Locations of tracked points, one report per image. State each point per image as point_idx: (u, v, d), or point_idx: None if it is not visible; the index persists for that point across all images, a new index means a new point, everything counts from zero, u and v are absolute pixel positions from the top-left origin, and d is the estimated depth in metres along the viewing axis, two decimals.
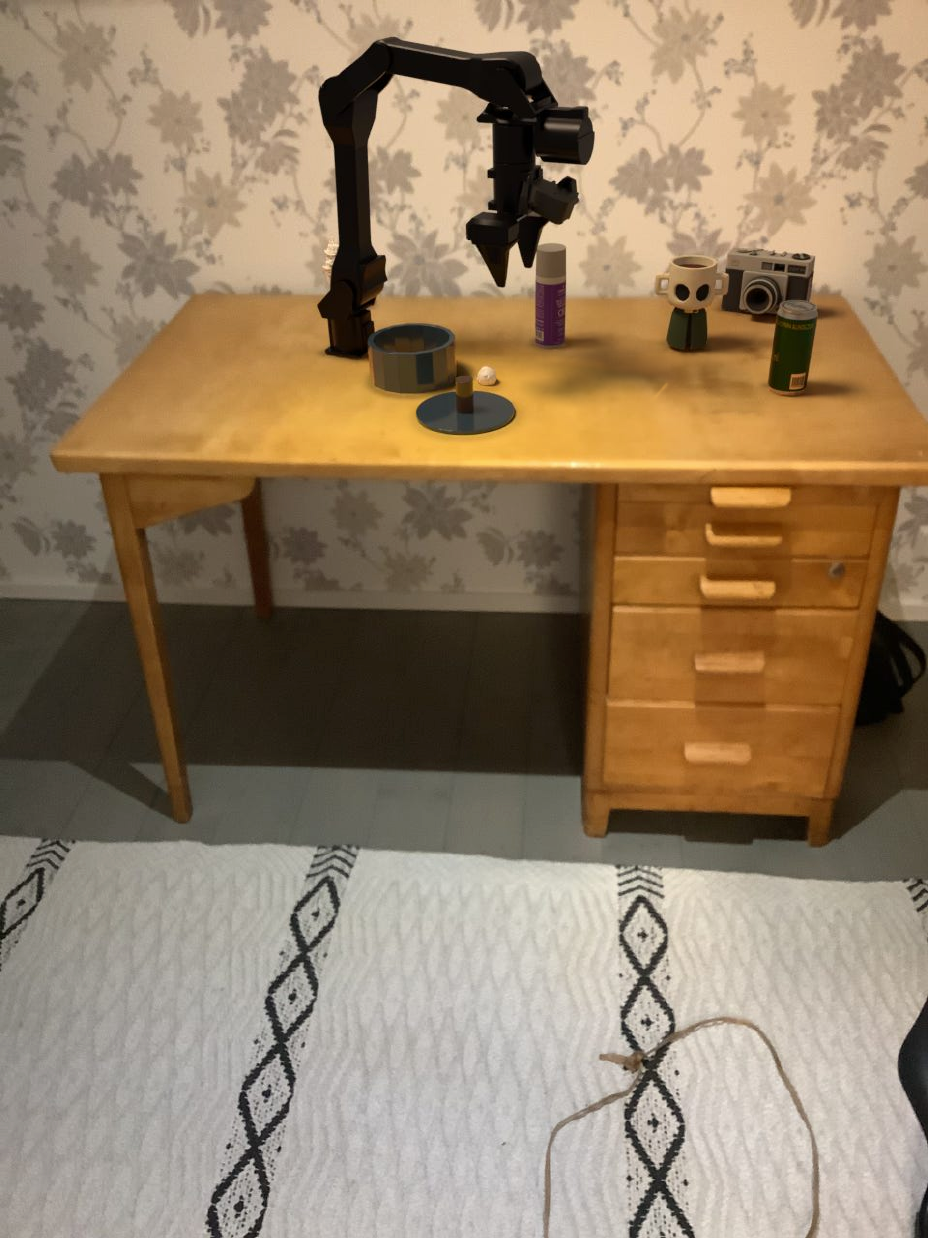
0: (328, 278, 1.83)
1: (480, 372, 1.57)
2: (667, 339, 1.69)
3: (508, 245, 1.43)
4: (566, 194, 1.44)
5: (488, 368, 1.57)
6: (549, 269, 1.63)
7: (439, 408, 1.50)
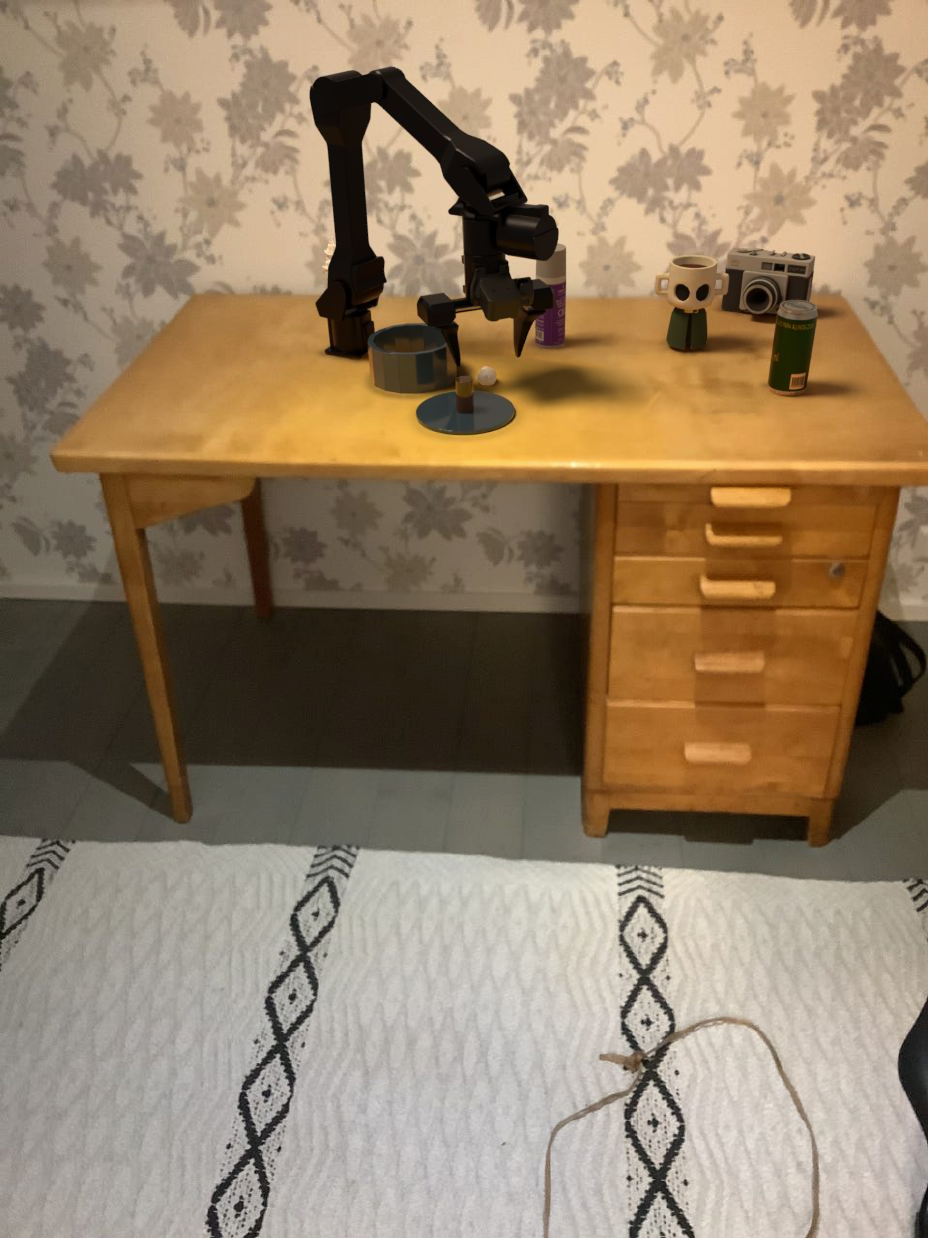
0: None
1: (480, 372, 1.57)
2: (667, 339, 1.69)
3: (439, 328, 1.49)
4: (507, 294, 1.44)
5: (488, 368, 1.57)
6: (549, 269, 1.63)
7: (439, 408, 1.50)
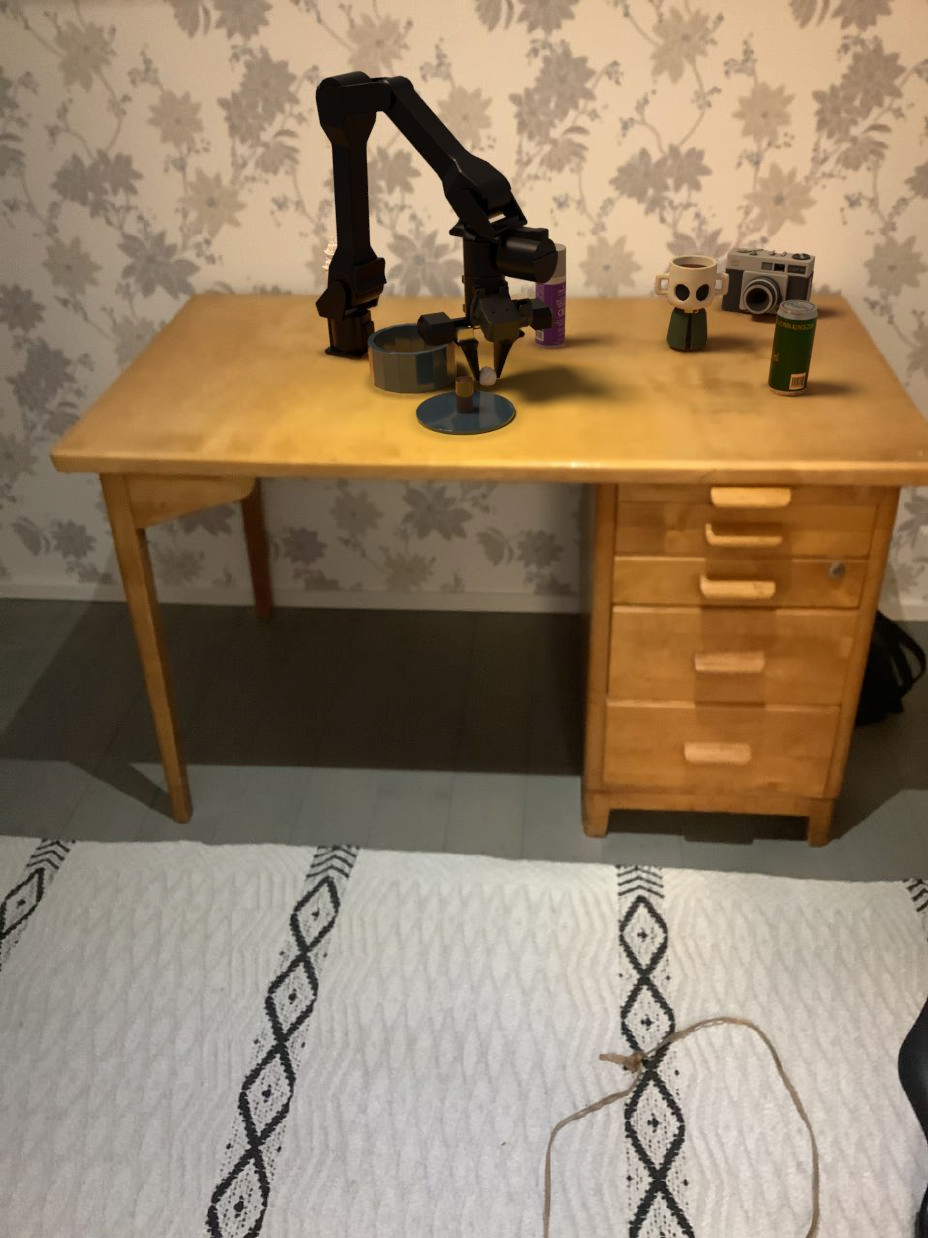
0: None
1: (480, 372, 1.57)
2: (667, 339, 1.69)
3: (459, 345, 1.51)
4: (506, 315, 1.46)
5: (488, 368, 1.57)
6: None
7: (439, 408, 1.50)
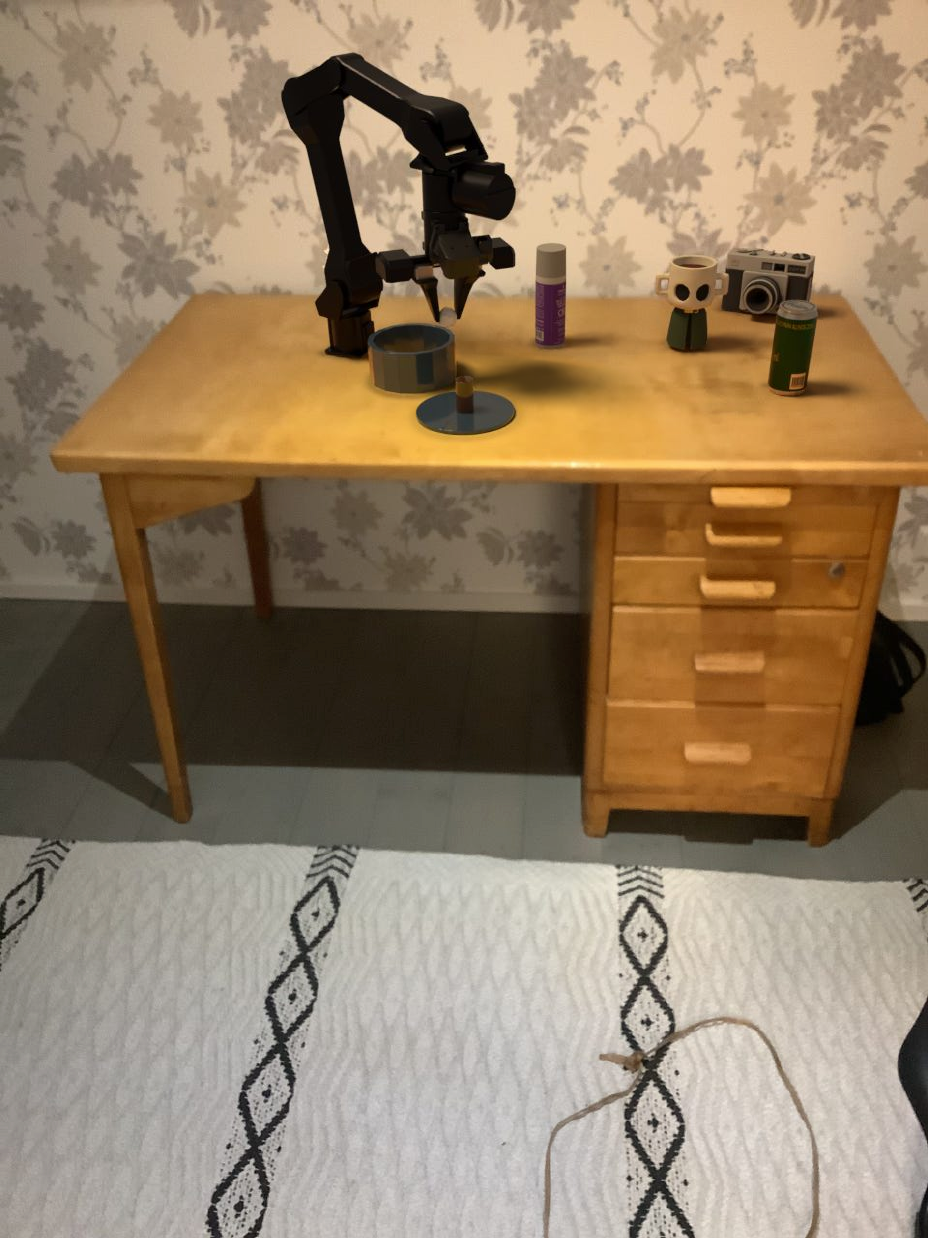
0: None
1: (440, 313, 1.54)
2: (667, 339, 1.69)
3: (418, 282, 1.48)
4: (466, 252, 1.43)
5: (448, 308, 1.54)
6: (549, 269, 1.63)
7: (439, 408, 1.50)
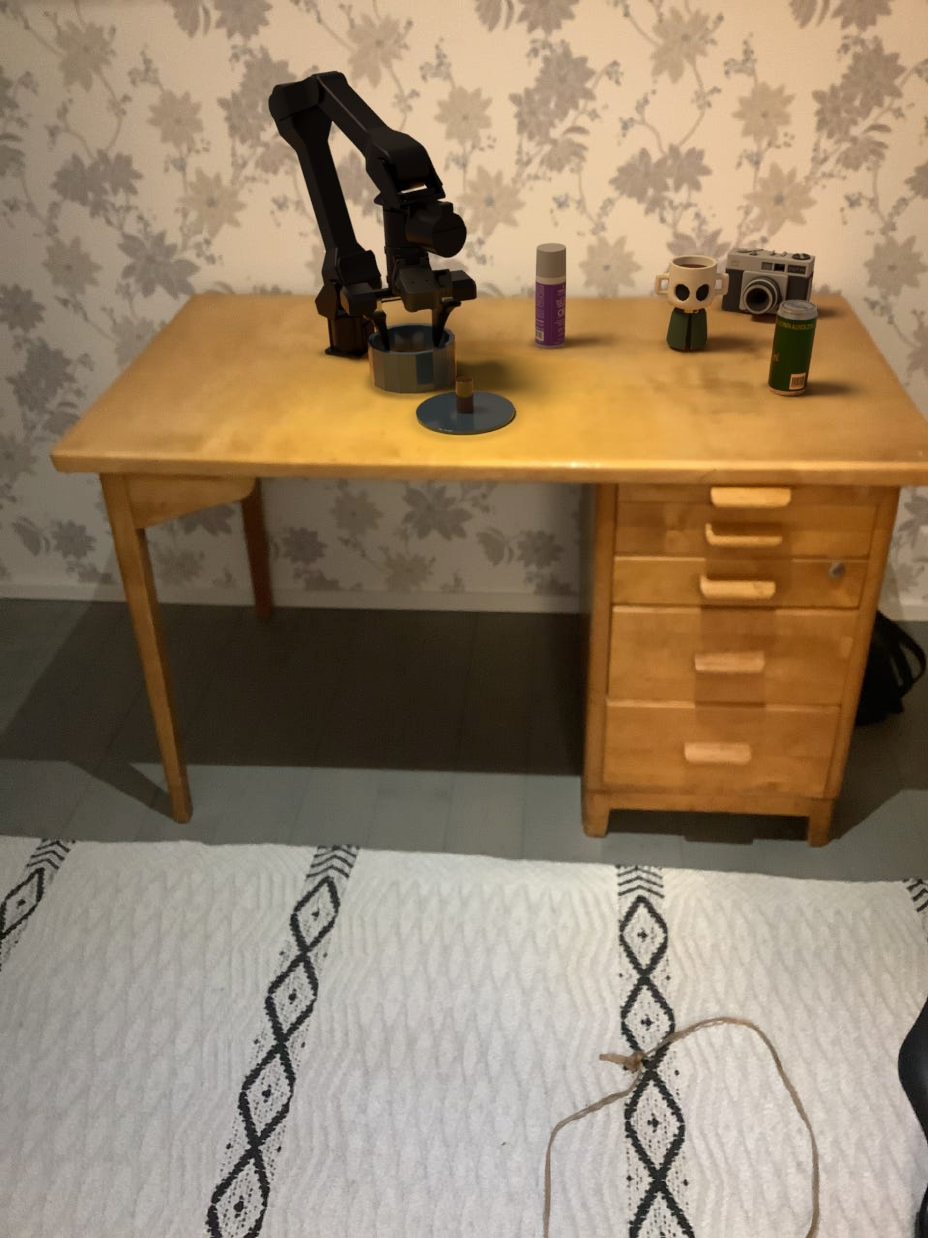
0: None
1: None
2: (667, 339, 1.69)
3: (367, 317, 1.52)
4: (425, 286, 1.47)
5: None
6: (549, 269, 1.63)
7: (439, 408, 1.50)
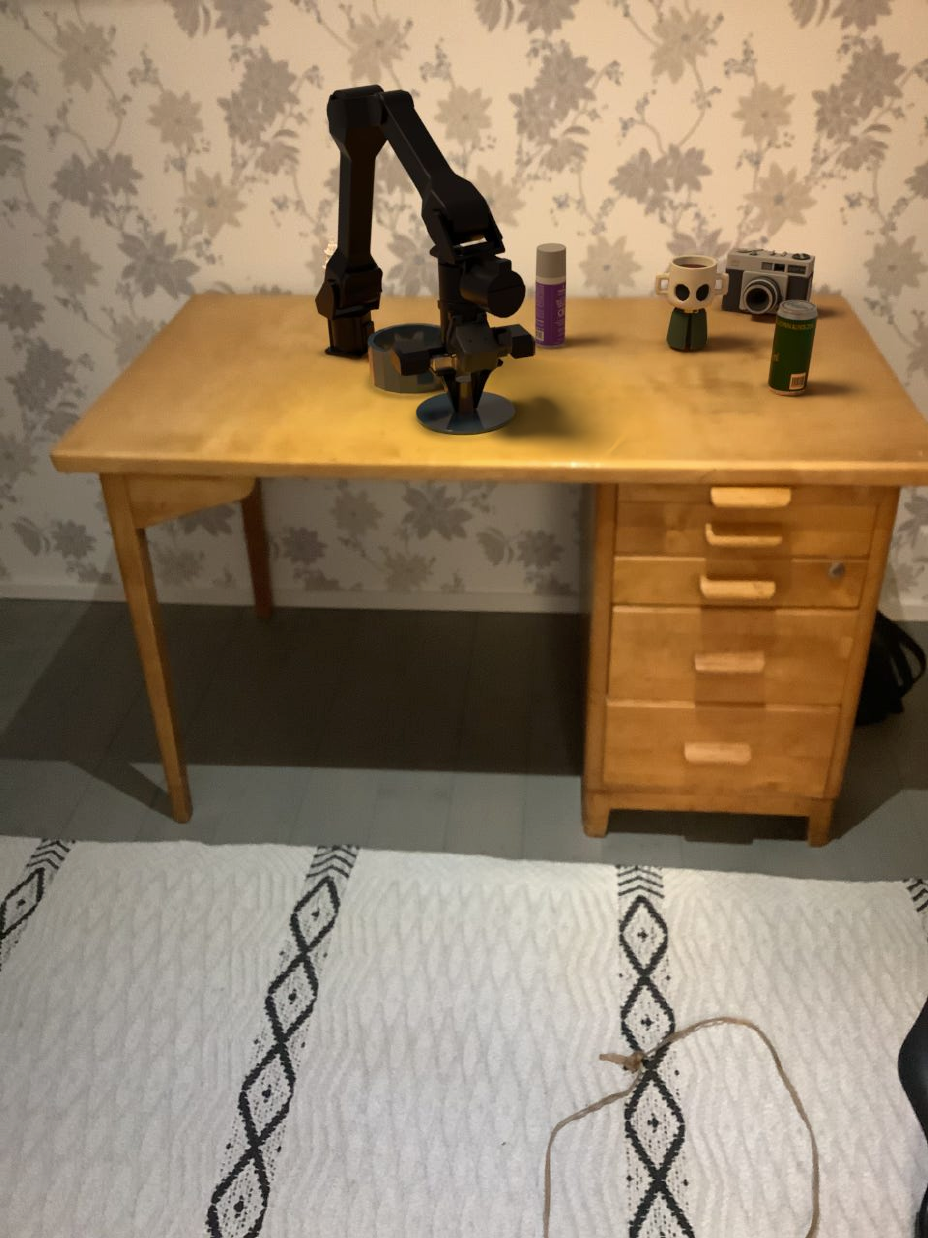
0: None
1: None
2: (667, 339, 1.69)
3: (436, 374, 1.42)
4: (484, 345, 1.37)
5: None
6: (549, 269, 1.63)
7: (439, 408, 1.50)
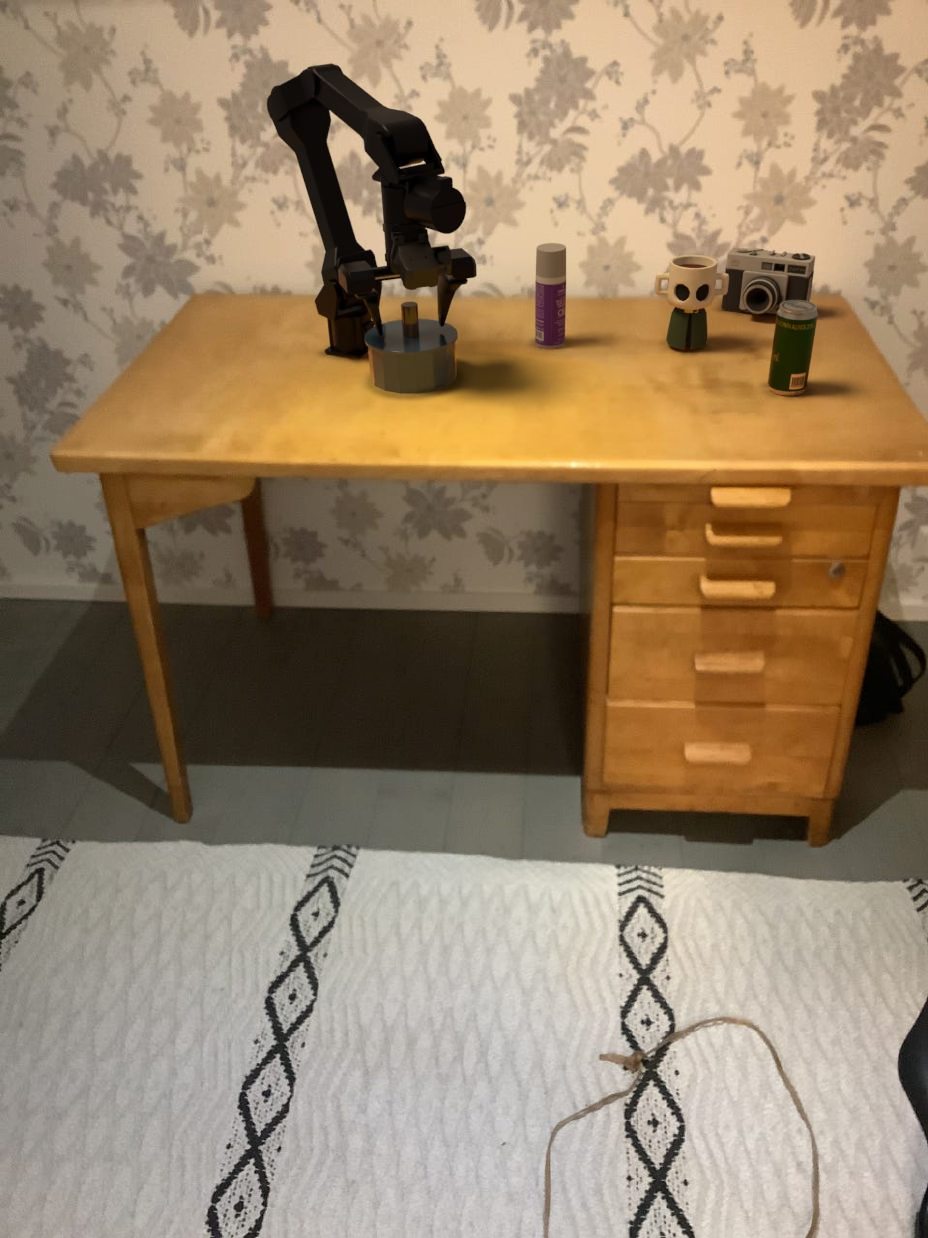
0: None
1: None
2: (667, 339, 1.69)
3: (358, 296, 1.50)
4: (425, 262, 1.45)
5: None
6: (549, 269, 1.63)
7: (387, 333, 1.59)
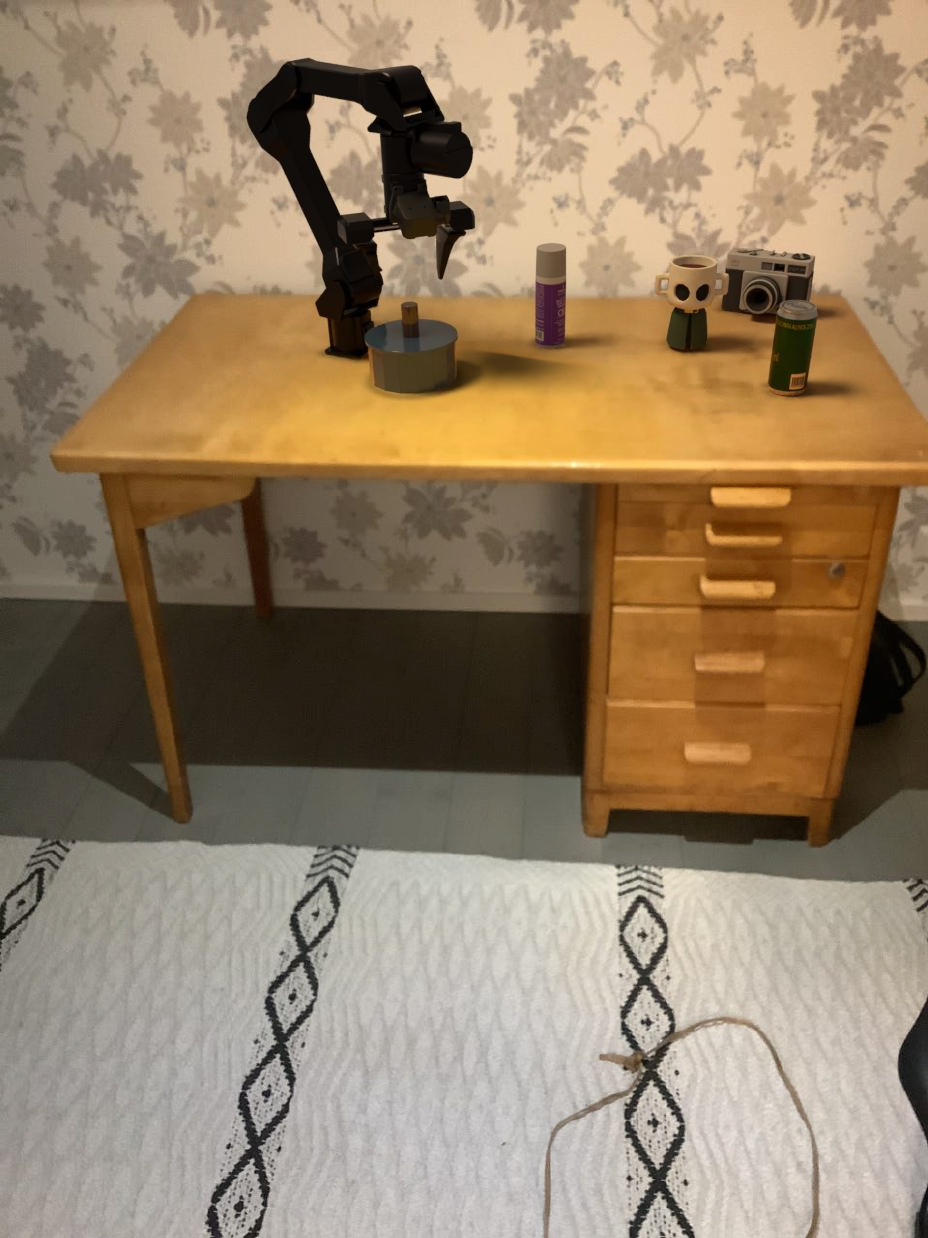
0: None
1: None
2: (667, 339, 1.69)
3: (357, 247, 1.50)
4: (423, 211, 1.46)
5: None
6: (549, 269, 1.63)
7: (387, 333, 1.59)
